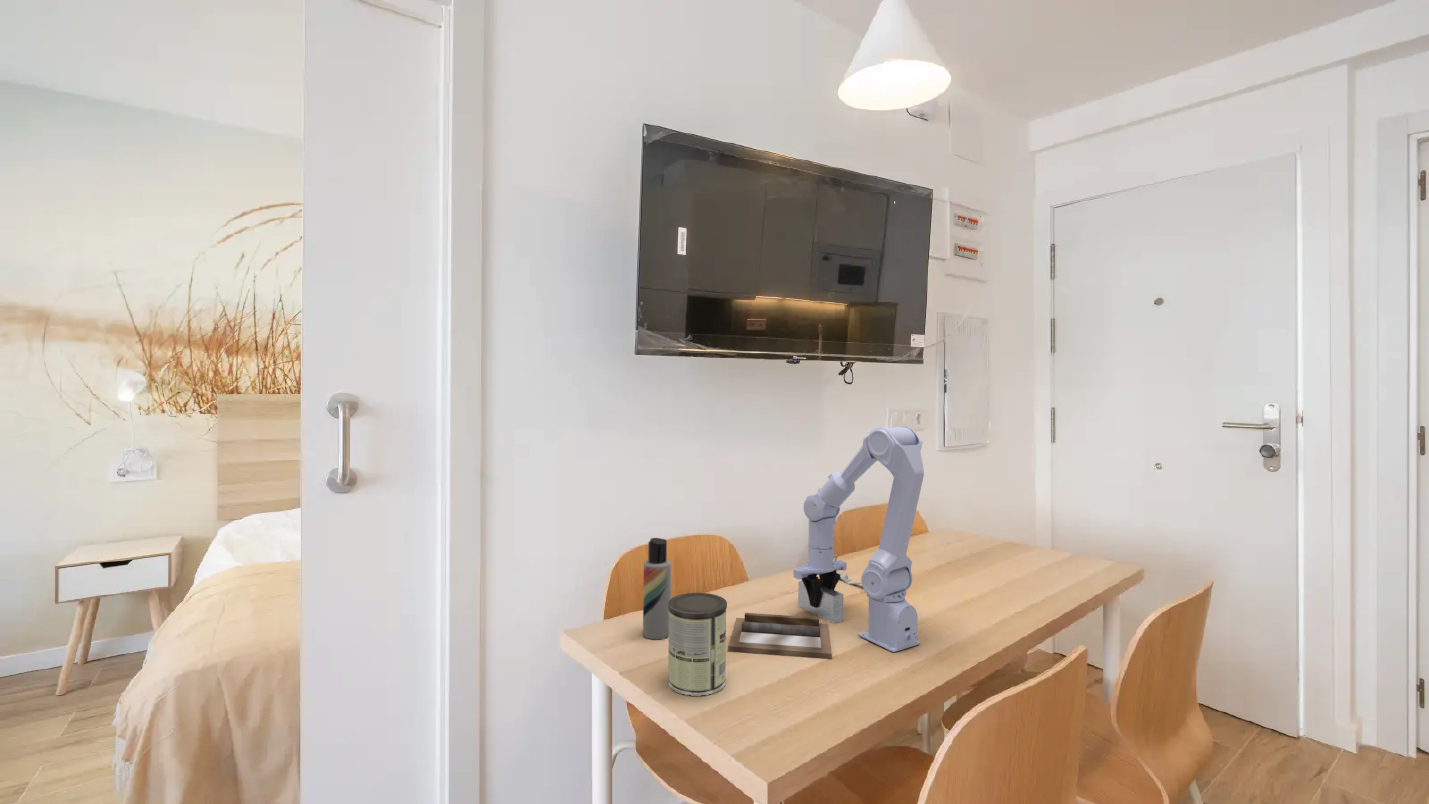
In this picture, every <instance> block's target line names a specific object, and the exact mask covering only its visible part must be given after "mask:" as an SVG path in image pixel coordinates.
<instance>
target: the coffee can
mask: <svg viewBox="0 0 1429 804" xmlns="http://www.w3.org/2000/svg"><path fill="white" fill-rule="evenodd" d="M668 608H669V636H668V675H667V676H668V679H667V684H668V687H669V688H670V689H671V690H672V691H673V690H674V691H673V692H675V693H677V694H679V695H682V694H685V695H684V696H687V695H691V696H690V697H702V696H701V695H706V696H710V695H709V694H711V695H714V694H716V693H718V692H720V691H721V690H723V689H724V688H725V686H726V684H727V678H726V677H727V676H726V675H727V672H726V671H727V669H726V668H727V664H726V662H727V658H726V657H727V608H728V602H727V600H726V599H725V598H724V597H722V596H720V595H716V594H713V593H707V592H688V593H683V594H678V595H676V596H673V597H671V599H670V600H669V602H668Z"/></svg>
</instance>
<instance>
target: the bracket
mask: <svg viewBox="0 0 1429 804" xmlns="http://www.w3.org/2000/svg"><path fill="white" fill-rule="evenodd" d="M833 561H838V554H833ZM836 573H838V574H840V580H842V581H843V582H844V583H846V584H847V583H848V584H847V585H862V582H861V581H852V579H850V578H849V575H848V574H847V573H845V574H844V573H842V572H841V570H839V571H836Z"/></svg>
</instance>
